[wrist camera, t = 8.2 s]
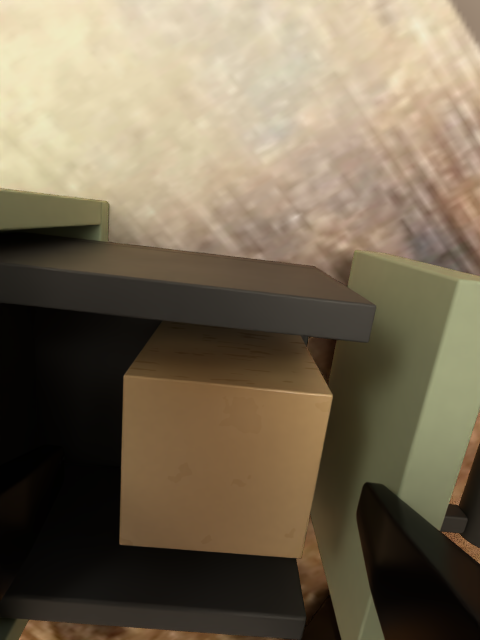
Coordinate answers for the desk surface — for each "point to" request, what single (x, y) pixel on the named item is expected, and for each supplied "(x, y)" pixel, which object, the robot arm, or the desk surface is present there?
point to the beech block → (221, 441)
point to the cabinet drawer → (240, 313)
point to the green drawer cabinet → (58, 220)
